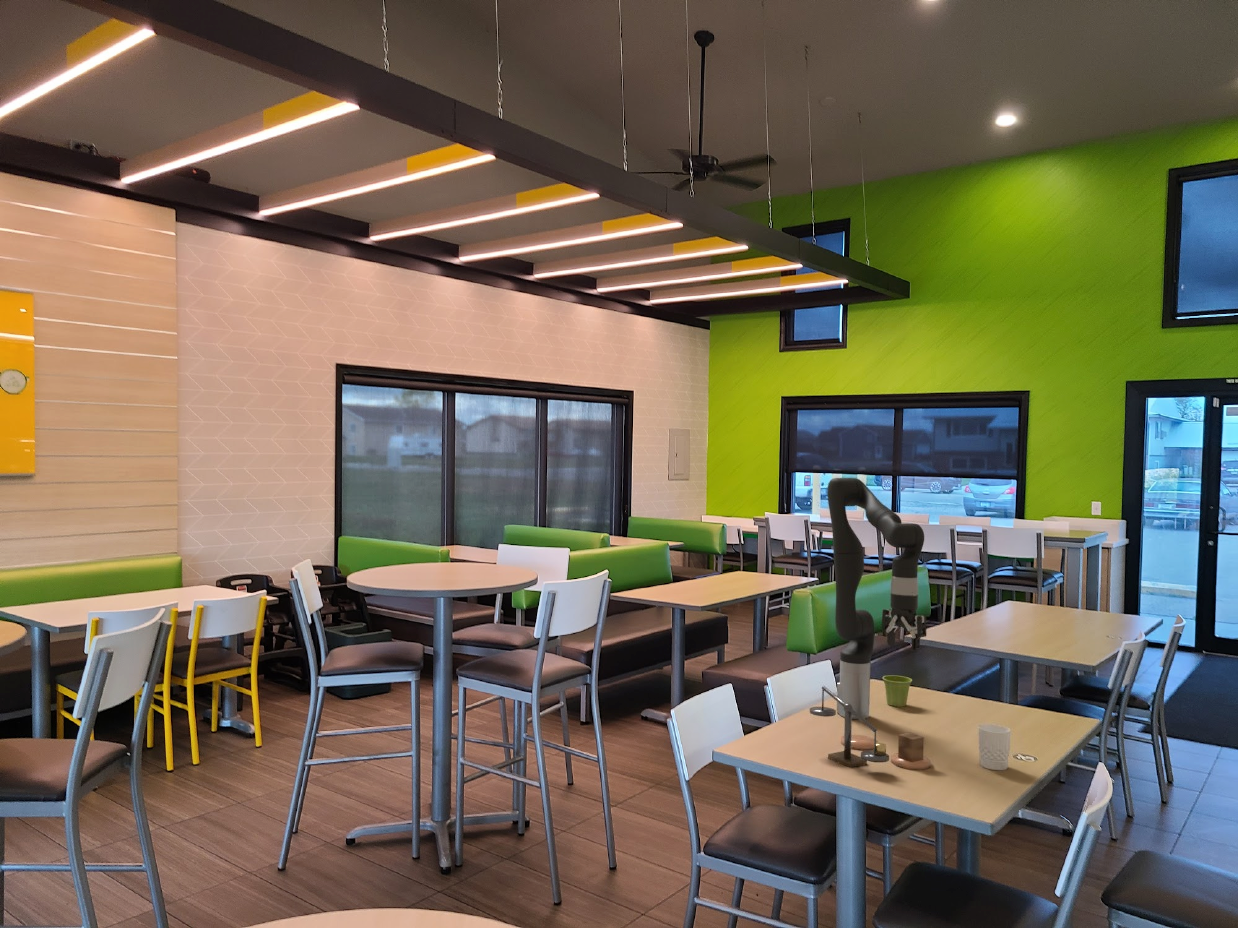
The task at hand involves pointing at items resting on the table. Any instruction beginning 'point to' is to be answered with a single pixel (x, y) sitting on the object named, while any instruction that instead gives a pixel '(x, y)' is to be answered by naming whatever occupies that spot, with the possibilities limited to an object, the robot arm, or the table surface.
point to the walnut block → (910, 747)
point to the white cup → (994, 746)
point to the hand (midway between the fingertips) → (903, 648)
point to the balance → (846, 756)
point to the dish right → (911, 765)
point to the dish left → (860, 742)
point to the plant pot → (897, 689)
